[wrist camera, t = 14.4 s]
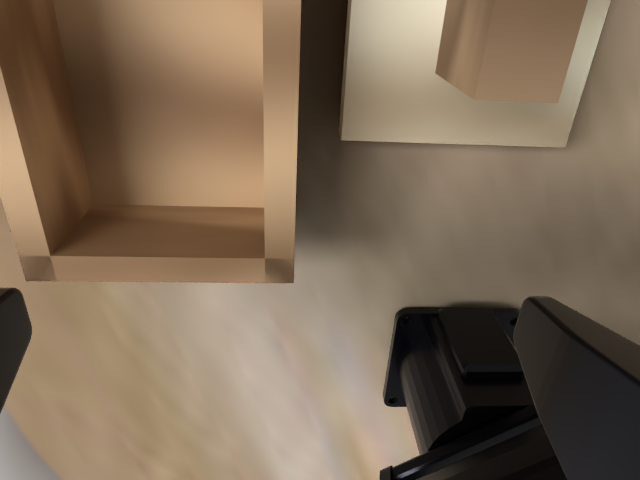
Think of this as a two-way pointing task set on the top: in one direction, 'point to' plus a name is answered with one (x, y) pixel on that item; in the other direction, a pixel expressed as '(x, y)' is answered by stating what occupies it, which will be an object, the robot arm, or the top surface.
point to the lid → (467, 70)
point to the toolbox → (150, 138)
